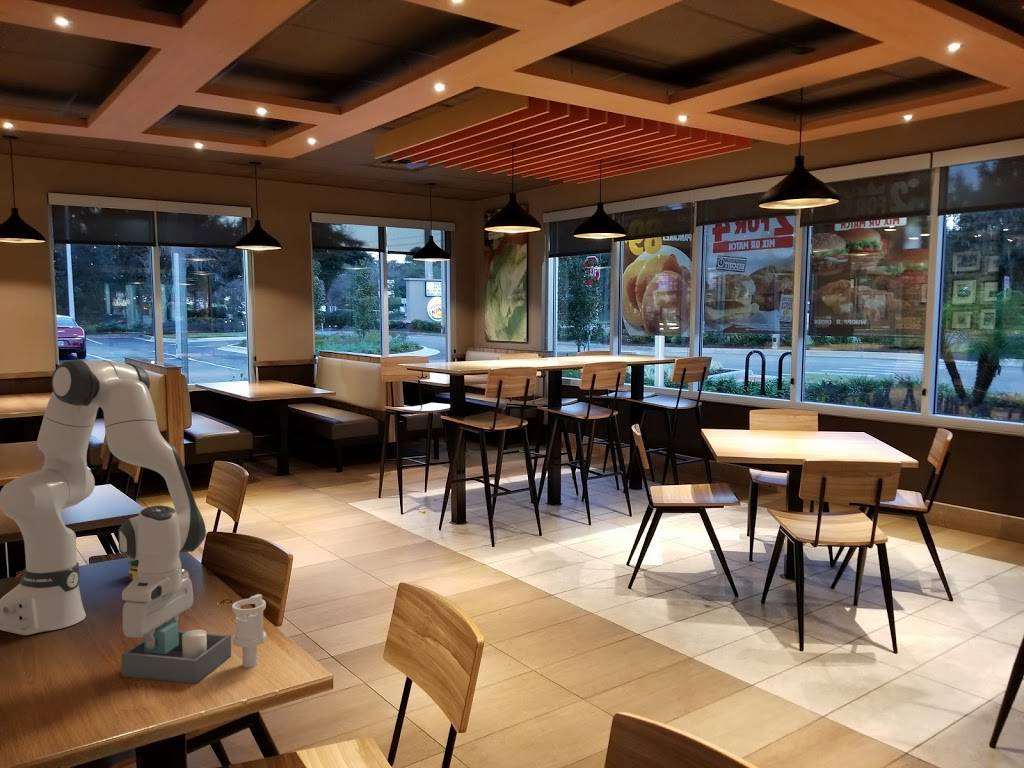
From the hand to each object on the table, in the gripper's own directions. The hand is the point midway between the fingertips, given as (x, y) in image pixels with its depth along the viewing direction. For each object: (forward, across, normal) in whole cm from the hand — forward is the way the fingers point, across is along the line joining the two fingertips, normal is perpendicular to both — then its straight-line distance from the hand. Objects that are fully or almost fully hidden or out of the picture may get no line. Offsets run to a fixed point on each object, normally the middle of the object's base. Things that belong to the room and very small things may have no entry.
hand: (161, 641), depth 171 cm
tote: (+5, 0, +4) cm, 7 cm away
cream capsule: (+5, 0, +8) cm, 9 cm away
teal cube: (+2, 0, 0) cm, 2 cm away
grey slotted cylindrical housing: (+5, -4, +19) cm, 20 cm away
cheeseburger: (+6, -53, -41) cm, 67 cm away
